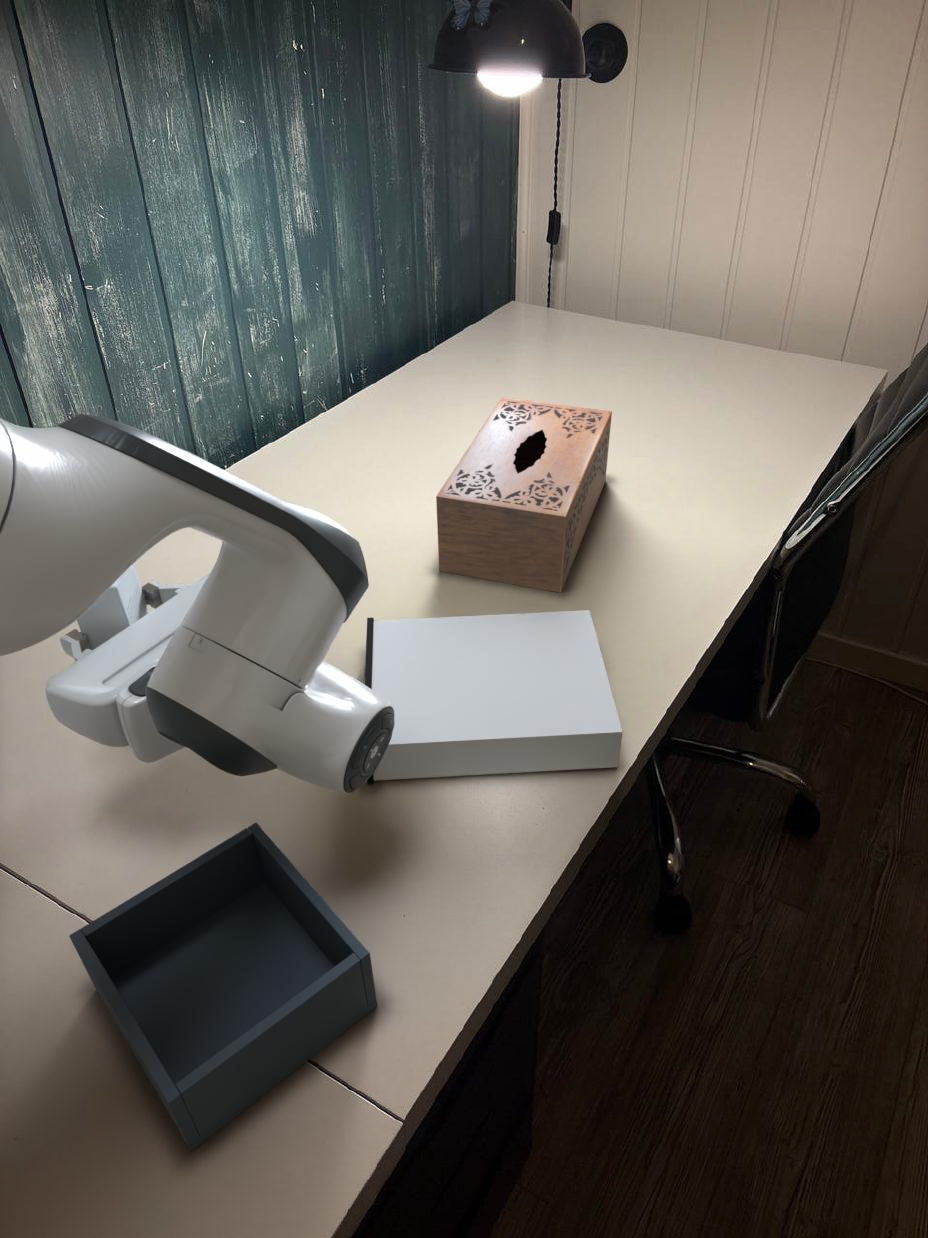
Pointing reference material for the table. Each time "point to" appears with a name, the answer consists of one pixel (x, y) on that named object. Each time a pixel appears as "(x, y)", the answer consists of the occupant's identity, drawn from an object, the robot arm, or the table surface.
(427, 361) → the table surface
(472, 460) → the tissue box cover
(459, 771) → the disc drive
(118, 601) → the cosmetic box
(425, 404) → the table surface
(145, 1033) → the bin
